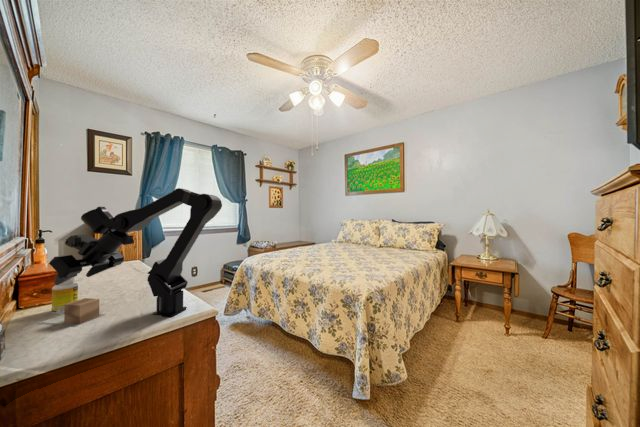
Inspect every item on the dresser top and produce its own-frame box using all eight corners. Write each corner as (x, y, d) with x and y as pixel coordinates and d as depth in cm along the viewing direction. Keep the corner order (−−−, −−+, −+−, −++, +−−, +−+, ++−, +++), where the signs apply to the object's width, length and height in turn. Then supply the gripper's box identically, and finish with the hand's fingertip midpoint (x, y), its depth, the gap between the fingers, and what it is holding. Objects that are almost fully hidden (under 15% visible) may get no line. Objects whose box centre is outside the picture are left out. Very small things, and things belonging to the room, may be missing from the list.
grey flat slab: (106, 315, 71) (106, 314, 71) (74, 328, 63) (74, 326, 63) (71, 313, 73) (71, 311, 73) (37, 325, 65) (37, 323, 65)
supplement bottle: (76, 311, 74) (76, 278, 74) (49, 316, 71) (49, 281, 71) (79, 306, 79) (79, 275, 79) (53, 310, 75) (54, 277, 75)
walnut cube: (99, 316, 70) (99, 299, 70) (79, 323, 65) (79, 305, 65) (84, 315, 71) (84, 298, 71) (64, 322, 66) (64, 304, 66)
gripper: (116, 224, 84) (84, 256, 84) (56, 227, 65) (16, 267, 66) (138, 247, 84) (106, 279, 84) (84, 256, 65) (43, 297, 65)
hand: (72, 279), depth 75 cm, fingers open, 9 cm apart
